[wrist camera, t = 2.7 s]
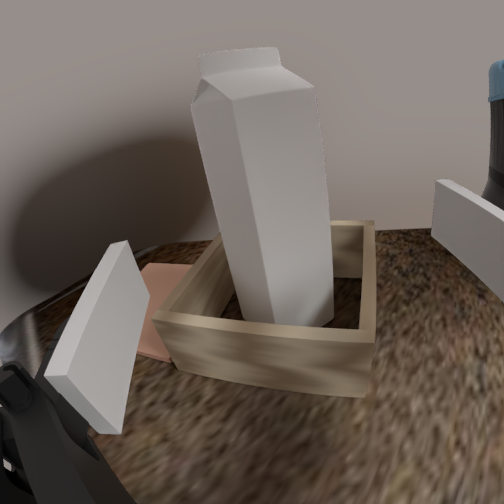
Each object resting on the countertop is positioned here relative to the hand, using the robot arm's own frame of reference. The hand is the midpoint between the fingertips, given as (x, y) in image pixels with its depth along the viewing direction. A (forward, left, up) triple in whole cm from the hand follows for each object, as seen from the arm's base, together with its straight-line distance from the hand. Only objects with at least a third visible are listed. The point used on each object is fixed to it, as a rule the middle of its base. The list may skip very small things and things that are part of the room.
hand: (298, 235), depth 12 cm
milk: (+4, -9, -14) cm, 17 cm away
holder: (+4, -9, -13) cm, 17 cm away
